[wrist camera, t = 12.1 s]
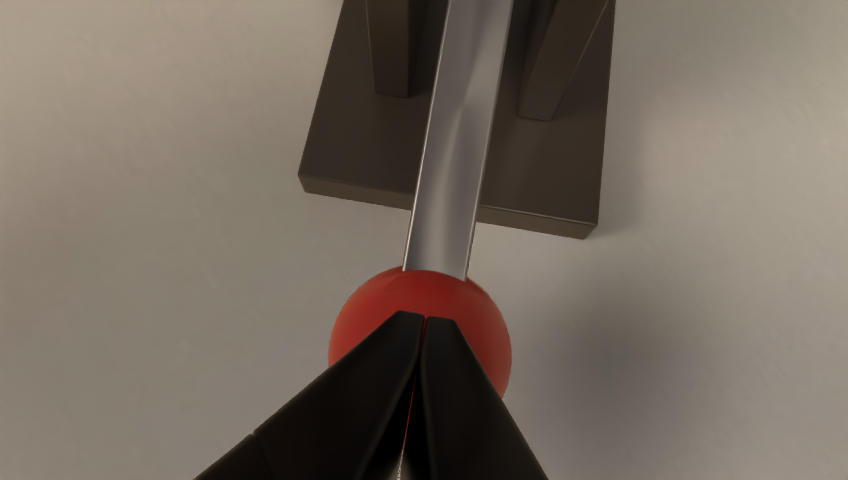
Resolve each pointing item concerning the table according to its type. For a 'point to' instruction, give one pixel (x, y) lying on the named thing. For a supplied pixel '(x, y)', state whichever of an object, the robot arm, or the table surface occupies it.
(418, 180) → the power switch
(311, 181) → the switch bracket
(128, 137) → the table surface
